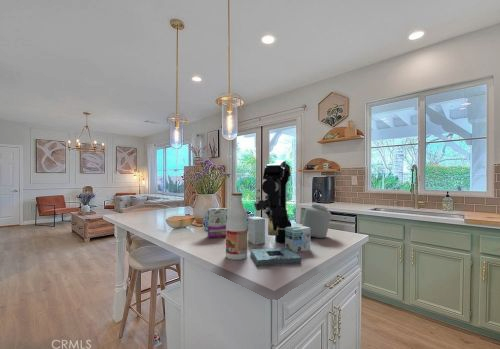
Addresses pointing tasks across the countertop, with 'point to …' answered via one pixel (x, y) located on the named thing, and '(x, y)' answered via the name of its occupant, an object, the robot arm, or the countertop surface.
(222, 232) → the candy bar box
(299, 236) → the light bulb box
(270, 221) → the cylinder
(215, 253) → the countertop surface
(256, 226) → the small box
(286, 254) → the jig
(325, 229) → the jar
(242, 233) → the fruit juice
